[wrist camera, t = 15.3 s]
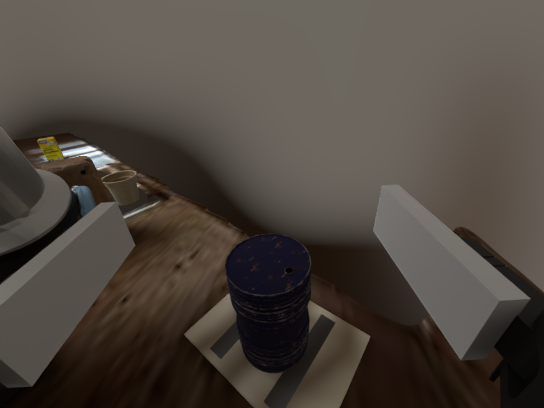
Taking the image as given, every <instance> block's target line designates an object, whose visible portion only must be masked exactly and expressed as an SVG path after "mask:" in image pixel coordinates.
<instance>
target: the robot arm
mask: <svg viewBox="0 0 544 408" xmlns="http://www.w3.org/2000/svg"><path fill="white" fill-rule="evenodd" d="M373 231H374V233H375V234H376V236H377V237H378V238H379V240H380V241H381V243H382V245H383V246H384V248H385V249H386V250H387V252H388V253H389V255H390V256H391V258H392V259H393V261H394V262H395V264H396V265H397V267H398V268H399V270H400V271H401V273H402V274H403V275H404V277H405V278H406V280H407V281H408V283H409V284H410V286H411V287H412V289H413V290H414V292H415V293H416V295H417V296H418V298H419V299H420V301H421V302H422V304H423V305H424V307H425V308H426V309H427V311H428V313H429V314H430V315H431V317H432V318H433V320H434V321H435V323H436V324H437V326H438V327H439V329H440V330H441V332H442V333H443V335H444V336H445V338H446V339H447V341H448V342H449V344H450V345H451V347H452V348H453V349H454V351H455V352H456V354H457V355H458V357H459V358H460V360H475V359H486V358H487V357H488V355H489V354H490V353H491V351H492V350H493V349H494V347H495V348H496V349H497V351H498V352H499V353H500V354H501V355H502V357H503V360H502V361H501V362H500V363H499V365H498V366H497V367H496V368H495V369H494V371H493V372H492V373H491V375H490V378H489V380H491V381H493V382H494V381H495V380H496V379H497V378H498V377H499V376H500V396H501V408H544V296H543V295H542V294H540V293H539V292H538V291H537V290H535V289H534V288H533V287H532V286H531V285H529V284H528V283H527V282H526V281H524V280H523V279H522V278H521V277H519V276H518V275H517V274H516V273H514V272H513V271H512V270H511V269H510V268H508V267H505V264H503V263H502V262H501V261H500V260H498V259H497V258H494V256H493V255H492V254H491V253H490V252H489V251H487V250H486V249H485V248H484V247H482V246H481V245H479V244H477V243H475V242H474V241H472V240H470V239H468V238H466V237H458V236H457V235H456V234H455V233H454V232H452V231H451V230H450V229H449V228H448V227H447V226H445V225H444V224H443V223H442V222H441V221H439V220H438V219H437V218H436V217H435V216H434V215H433V214H431V213H430V212H429V211H428V210H427V209H426V208H424V207H423V206H422V205H421V204H420V203H418V202H417V201H416V200H415V199H414V198H413V197H412V196H410V195H409V194H408V193H407V192H406V191H405V190H403V189H402V188H401V187H400V186H399V185H383V186H382V189H381V194H380V199H379V204H378V209H377V214H376V219H375V224H374V229H373ZM134 247H135V243H134V241H133V239H132V236H131V234H130V232H129V229H128V227H127V225H126V223H125V220H124V218H123V216H122V214H121V211H120V209H119V207H118V205H117V202H106V203H100V204H99V205H97V206H96V203H95V200H94V197H93V195H92V192H91V190H90V189H89V187H86V186H73V187H71V188H70V187H69V186H68V185H67V183H66V182H65V181H64V180H63V179H62V178H60V177H59V176H57V175H55V174H53V173H51V172H48V171H44V170H40V169H35V168H34V167H33V166H32V165H31V163H30V162H29V161H28V160H27V158H26V157H25V156H24V155H23V154H22V152H21V151H20V150H19V149H18V147H17V146H16V145H15V144H14V142H13V141H12V140H11V139H10V137H9V136H8V135H7V134H6V132H5V131H4V130H3V129H2V127H1V126H0V408H1V407H2V406H3V405H4V404H5V403H6V402H7V401H9V400H10V399H11V398H12V397H13V396H14V395H15V394H16V393H17V392H18V391H19V390H20V389H21V388H22V387H29V386H33V385H34V383H35V382H36V381H37V379H38V378H39V377H40V375H41V374H42V372H43V371H44V370H45V368H46V367H47V366H48V364H49V363H50V362H51V360H52V359H53V357H54V356H55V355H56V353H57V352H58V351H59V349H60V348H61V347H62V345H63V344H64V342H65V341H66V340H67V338H68V337H69V336H70V334H71V333H72V331H73V330H74V329H75V327H76V326H77V325H78V323H79V322H80V321H81V319H82V318H83V316H84V315H85V314H86V312H87V311H88V310H89V308H90V307H91V306H92V304H93V303H94V301H95V300H96V299H97V297H98V296H99V295H100V293H101V292H102V290H103V289H104V288H105V286H106V285H107V284H108V282H109V281H110V280H111V278H112V277H113V275H114V274H115V273H116V271H117V270H118V269H119V267H120V266H121V264H122V263H123V262H124V260H125V259H126V258H127V256H128V255H129V254H130V252H131V251H132V249H133V248H134Z"/></svg>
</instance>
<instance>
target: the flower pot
mask: <svg viewBox="0 0 544 408" xmlns="http://www.w3.org/2000/svg"><path fill="white" fill-rule="evenodd" d="M102 181H103V183H104V185H105V186H106V187H107V188H108V189H109V191H110V192H111V194H112V195H113V197H114V199H115V200H116V202H117V203H118V204H119V205H121V206H124V205H125V206H126V205H129V204H131V203H135V202H137V201H138V200H139V193H138V189H137V184H136V172H135V171H131V170H127V171H119V172H115V173H112V174H109V175H107V176H105V177H103V178H102Z"/></svg>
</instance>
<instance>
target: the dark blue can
mask: <svg viewBox="0 0 544 408" xmlns="http://www.w3.org/2000/svg"><path fill="white" fill-rule="evenodd" d="M310 269H311V259H310V255H309V253H308V251H307V249H306V248H305V247H304V246H303V245H302V244H301V243H300V242H299V241H297V240H295V239H293V238H291V237H288V236H285V235H280V234H261V235H256V236H253V237H250V238H248V239H245V240H244V241H242V242H240V243H239V244H237V245H236V246H235V247H234V248H233V249H232V250H231V252H230V253H229V255H228V256H227V259H226V262H225V272H226V276H227V281H228V290H229V294H230V299H231V303H232V306H233V308H234V310H235V312H236V313H237V314H236V323H237V330H238V336H239V339H240V343H241V345H242V349H243V353H244V355H245V357H246V359H247V360H248V361H249V363H250V364H251V365H252V366H254V367H255V368H257V369H258V370H260V371H263V372H266V373H274V374H275V373H282V372H285V371H288V370H290V369H292V368H293V367H294V366H296V365H297V364H298V363H299V362H300V361H301V359H302V358H303V356H304V354H305V352H306V349H307V344H308V335H309V323H310V318H309V311H308V307H307V306H308V303H309V300H310V296H311V274H310Z"/></svg>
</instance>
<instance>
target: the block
mask: <svg viewBox="0 0 544 408" xmlns="http://www.w3.org/2000/svg"><path fill="white" fill-rule="evenodd" d="M41 170H44V171H48V172H51V173H53V174H55V175H57V176H59V177H60V178H62V179H63V180H64V181H65V182H66V183H67V185H68V186H69V187H70V188H71V187H73V186H86V187H89V189H90V190H91V192H92V195H93V197H94V200H95V203H96V206H97V205H99V204H100V203H106V202H113V201H112V199H111V197H110V195H109V193H108V191H107V189H106V187H105V185H104V183H103V181H102V179H101V177H100V175H99V173H98V171H97V169H96V167H95V165H94V164H93V162H92V160H91V159H90V158H89V157H87V156H79V157H75V158H71V159H60V160H56V161H54V162H49V163H46V164H45V165H44V166H43V167H42V169H41Z"/></svg>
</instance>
